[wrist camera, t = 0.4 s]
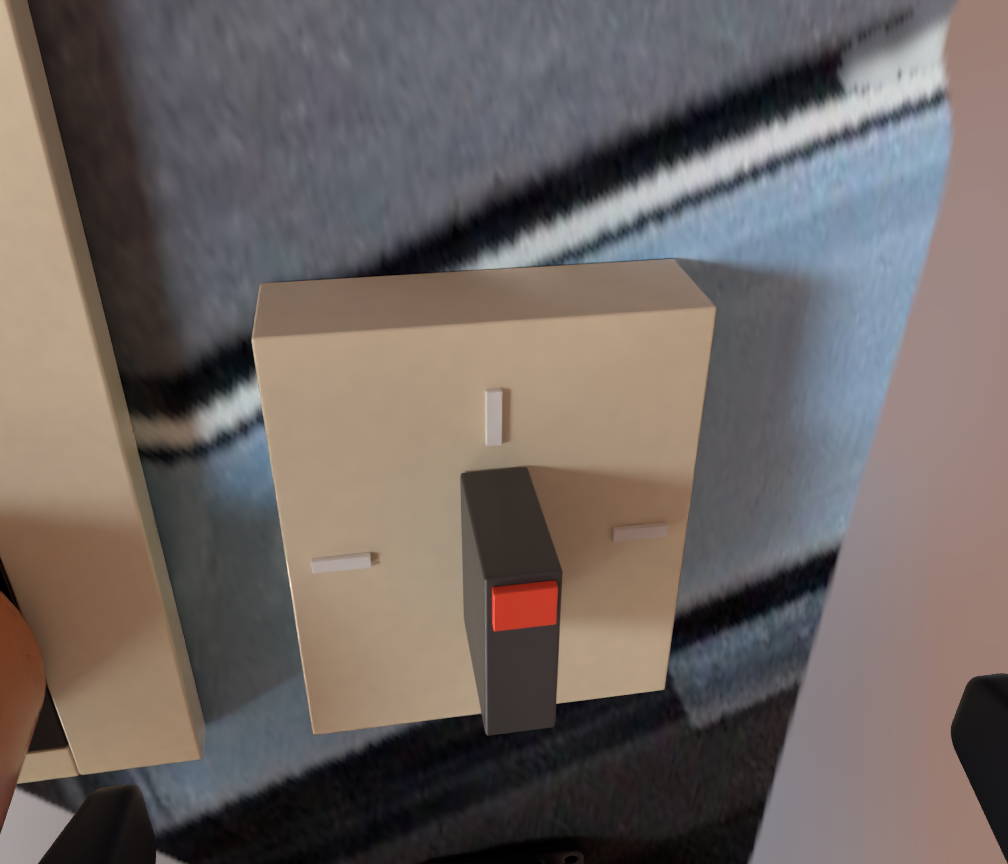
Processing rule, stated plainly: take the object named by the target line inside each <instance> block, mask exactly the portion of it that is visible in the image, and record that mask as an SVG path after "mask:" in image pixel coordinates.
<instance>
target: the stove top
mask: <svg viewBox="0 0 1008 864" xmlns="http://www.w3.org/2000/svg"><path fill="white" fill-rule="evenodd" d="M0 591H1V592H2V593H3V594H4V595H5V596H6V597H7V598H8V599H9V601H10V602H11V603H12V604H13V605H14V606H15V607H16V608H17V609H18V611H19V612H20V614H21V615H22V617H23V618H24V620H25V621H26V623H27V624H28V626H29V627H30V629H31V631H32V633H33V635H34V637H35V639H36V641H37V644H38V646H39V648H40V652H41V656H42V660H43V663H44V667H45V682H46V688H45V695H44V703H43V706H42V709H41V712H40V715H39V718H38V721H37V724H36V727H35V730H34V733H33V736H32V739H31V742H30V745H29V748H28V751H27V754H26V757H25V760H24V763H23V766H22V769H21V773H20V776H19V779H18V782H17V784H18V783H26V782H34V781H41V780H49V779H56V778H64V777H72V776H77V775H79V773H80V774H81V775H85V774H92V773H100V772H108V771H115V770H123V769H130V768H138V767H146V766H153V765H161V764H169V763H176V762H184V761H191V760H199V759H202V756H203V750H204V742H205V735H206V726H205V722H204V717H203V713H202V709H201V705H200V701H199V697H198V693H197V689H196V685H195V681H194V677H193V673H192V669H191V665H190V661H189V656H188V652H187V648H186V644H185V640H184V636H183V632H182V628H181V624H180V620H179V616H178V612H177V608H176V604H175V599H174V595H173V591H172V587H171V583H170V579H169V575H168V571H167V567H166V563H165V559H164V555H163V551H162V547H161V543H160V538H159V534H158V530H157V526H156V522H155V518H154V514H153V510H152V506H151V502H150V498H149V494H148V490H147V486H146V482H145V477H144V473H143V469H142V465H141V461H140V457H139V453H138V449H137V445H136V441H135V437H134V433H133V429H132V425H131V420H130V416H129V412H128V408H127V404H126V400H125V396H124V392H123V388H122V384H121V380H120V376H119V372H118V368H117V364H116V359H115V355H114V351H113V347H112V343H111V339H110V335H109V331H108V327H107V323H106V319H105V315H104V311H103V307H102V303H101V298H100V294H99V290H98V286H97V282H96V278H95V274H94V270H93V266H92V262H91V258H90V254H89V250H88V246H87V242H86V237H85V233H84V229H83V225H82V221H81V217H80V213H79V209H78V205H77V201H76V197H75V193H74V189H73V185H72V180H71V176H70V172H69V168H68V164H67V160H66V156H65V152H64V148H63V144H62V140H61V136H60V132H59V128H58V124H57V119H56V115H55V111H54V107H53V103H52V99H51V95H50V91H49V87H48V83H47V79H46V75H45V71H44V67H43V63H42V58H41V54H40V50H39V46H38V42H37V38H36V34H35V30H34V26H33V22H32V18H31V14H30V10H29V6H28V2H27V0H0Z"/></svg>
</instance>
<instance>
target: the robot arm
mask: <svg viewBox="0 0 1008 864" xmlns="http://www.w3.org/2000/svg"><path fill="white" fill-rule="evenodd" d="M951 738H952V742H953V746H954V749H955V751H956V753H957V755H958V758H959V760H960V762H961V764H962V766H963V768H964V771H965V772H966V775H967V777H968V779H969V781H970V784H971V786H972V788H973V790H974V792H975V794H976V796H977V798H978V801H979V803H980V805H981V807H982V810H983V811H984V814H985V816H986V818H987V820H988V822H989V825H990V827H991V829H992V831H993V833H994V835H995V838H996V839H997V842H998V844H999V846H1000V848H1001V851H1002V853H1003V855H1004V857H1005V859H1006V861H1007V863H1008V674H992V675H984V676H977V677H974V678H972V679H971V680H970V681H969V682H968V684H967V685H966V687H965V690H964V693H963V695H962V698H961V701H960V704H959V706H958V709H957V711H956V714H955V717H954V719H953V722H952V725H951ZM583 861H584V857H583V853H582V849H581V845H580V844H579V843H577V842H564V843H558V844H551V845H545V846H538V847H531V848H525V849H518V850H512V851H505V852H499V853H492V854H485V855H479V856H472V857H466V858H459V859H453V860H446V861H439V862H433V863H426V864H583ZM155 863H156V842H155V835H154V831H153V828H152V825H151V821H150V818H149V814H148V811H147V808H146V804H145V801H144V797H143V794H142V791H141V790H140V788H139V787H138V786H137V785H135V784H126V785H119V786H111V787H103V788H99V789H97V790H95V791H94V792H92V793H91V794H90V795H89V796H88V797H87V799H86V800H85V801H84V803H83V804H82V805H81V807H80V808H79V809H78V811H77V812H76V813H75V815H74V816H73V818H72V819H71V820H70V822H69V823H68V824H67V826H66V827H65V828H64V830H63V831H62V832H61V834H60V835H59V836H58V838H57V839H56V840H55V842H54V843H53V844H52V846H51V847H50V848H49V850H48V851H47V852H46V854H45V855H44V857H43V858H42V859H41V861H40V862H39V863H38V864H155Z"/></svg>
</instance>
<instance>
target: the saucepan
mask: <svg viewBox="0 0 1008 864" xmlns="http://www.w3.org/2000/svg"><path fill="white" fill-rule="evenodd" d="M45 688H46V682H45V667H44V663H43V660H42V656H41V652H40V648H39V646H38V644H37V641H36V639H35V637H34V635H33V633H32V631H31V629H30V627H29V626H28V624H27V623H26V621H25V620H24V618H23V617H22V615H21V614H20V612H19V611H18V609H17V608H16V607H15V606H14V605H13V604H12V603H11V602H10V601H9V599H8V598H7V597H6V596H5V595H4V594H3V593H2V592H1V591H0V833H1V830H2V827H3V824H4V821H5V818H6V815H7V812H8V809H9V806H10V803H11V800H12V797H13V793H14V791H15V788H16V785H17V782H18V779H19V776H20V773H21V769H22V766H23V763H24V760H25V757H26V754H27V751H28V748H29V745H30V742H31V739H32V736H33V733H34V730H35V727H36V724H37V721H38V718H39V715H40V712H41V709H42V706H43V703H44V695H45Z"/></svg>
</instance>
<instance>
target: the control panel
mask: <svg viewBox="0 0 1008 864" xmlns="http://www.w3.org/2000/svg"><path fill="white" fill-rule="evenodd" d="M716 312H717V308H716V306H715V305H714V304H713V303H712V301H711V300H710V299H709V298H708V297H707V296H706V295H705V294H704V292H703V291H702V290H701V289H700V288H699V287H698V286H697V284H696V283H695V282H694V281H693V280H692V279H691V278H690V277H689V275H688V274H687V273H686V272H685V271H684V270H683V269H682V268H681V266H680V265H679V264H678V263H677V262H676V261H675V260H674V259H662V260H645V261H629V262H612V263H595V264H578V265H562V266H545V267H528V268H511V269H495V270H478V271H461V272H444V273H427V274H411V275H394V276H377V277H360V278H344V279H327V280H310V281H293V282H277V283H262V284H260V286H259V292H258V299H257V306H256V313H255V320H254V327H253V333H252V340H251V341H252V347H253V354H254V360H255V366H256V373H257V379H258V386H259V392H260V398H261V405H262V411H263V418H264V424H265V430H266V437H267V443H268V450H269V456H270V462H271V469H272V475H273V482H274V488H275V494H276V501H277V507H278V514H279V520H280V526H281V533H282V539H283V546H284V552H285V558H286V565H287V571H288V578H289V584H290V590H291V597H292V603H293V610H294V616H295V622H296V629H297V635H298V642H299V648H300V654H301V661H302V667H303V674H304V680H305V686H306V693H307V699H308V706H309V712H310V718H311V725H312V731H313V734H314V735H319V734H327V733H334V732H342V731H350V730H357V729H365V728H373V727H381V726H388V725H396V724H404V723H411V722H419V721H427V720H435V719H442V718H450V717H458V716H465V715H473V714H481V708H480V703H479V698H478V692H477V687H476V682H475V676H474V671H473V666H472V660H471V655H470V650H469V644H468V639H467V634H466V628H465V623H464V607H463V567H462V528H461V489H460V476H461V473H467V472H478V471H489V470H500V469H510V468H521V467H526V468H528V471H529V474H530V477H531V480H532V482H533V485H534V488H535V491H536V494H537V497H538V500H539V503H540V506H541V509H542V512H543V515H544V518H545V521H546V524H547V527H548V530H549V532H550V535H551V538H552V541H553V544H554V547H555V550H556V553H557V556H558V559H559V562H560V565H561V568H562V571H563V576H562V597H561V617H560V637H559V657H558V678H557V698H556V704H558V703H566V702H573V701H581V700H589V699H596V698H604V697H612V696H620V695H627V694H635V693H643V692H650V691H658V690H664V689H665V683H666V675H667V668H668V661H669V653H670V646H671V639H672V632H673V624H674V617H675V610H676V603H677V595H678V588H679V581H680V573H681V566H682V559H683V552H684V544H685V537H686V530H687V523H688V515H689V508H690V501H691V493H692V486H693V479H694V472H695V464H696V457H697V450H698V442H699V435H700V428H701V421H702V413H703V406H704V399H705V392H706V384H707V377H708V370H709V362H710V355H711V348H712V341H713V333H714V326H715V319H716Z"/></svg>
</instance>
